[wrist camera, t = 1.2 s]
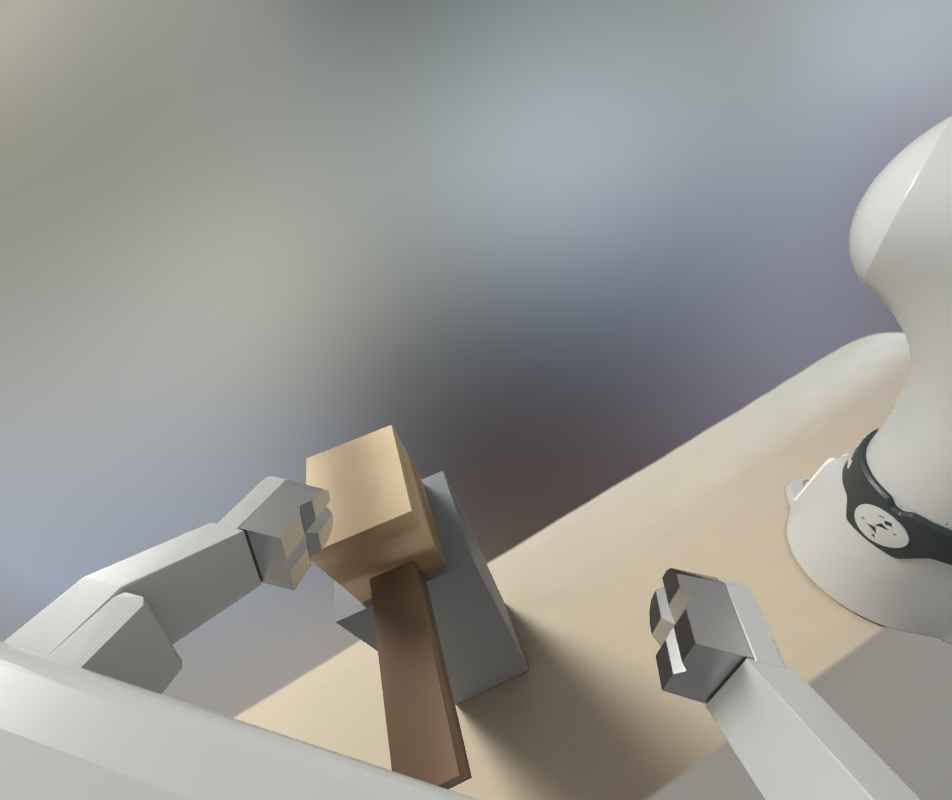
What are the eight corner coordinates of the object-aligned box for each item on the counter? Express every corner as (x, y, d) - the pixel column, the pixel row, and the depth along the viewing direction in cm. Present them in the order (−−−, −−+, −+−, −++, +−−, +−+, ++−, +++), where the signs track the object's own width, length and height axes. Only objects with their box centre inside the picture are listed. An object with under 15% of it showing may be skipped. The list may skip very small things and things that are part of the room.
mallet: (423, 483, 26) (391, 424, 22) (502, 762, 15) (467, 748, 11) (352, 513, 25) (306, 458, 21) (382, 821, 15) (301, 829, 11)
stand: (504, 603, 44) (442, 470, 26) (529, 669, 39) (473, 561, 21) (439, 633, 43) (331, 517, 26) (456, 704, 38) (335, 622, 21)
